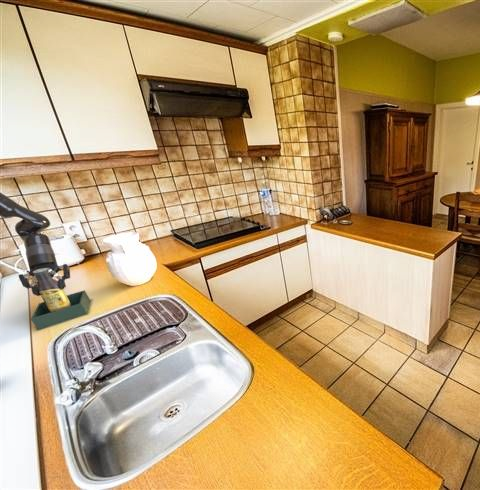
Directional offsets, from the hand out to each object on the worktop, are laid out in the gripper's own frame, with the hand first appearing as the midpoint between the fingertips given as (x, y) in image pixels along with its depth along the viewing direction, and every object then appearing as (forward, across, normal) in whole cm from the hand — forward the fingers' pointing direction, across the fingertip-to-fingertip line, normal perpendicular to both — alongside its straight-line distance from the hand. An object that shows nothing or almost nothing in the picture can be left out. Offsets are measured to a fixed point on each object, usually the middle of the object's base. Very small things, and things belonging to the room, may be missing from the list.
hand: (50, 291), depth 108 cm
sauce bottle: (+6, 0, +9) cm, 11 cm away
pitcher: (-1, +26, +18) cm, 32 cm away
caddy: (+8, 0, +10) cm, 12 cm away
